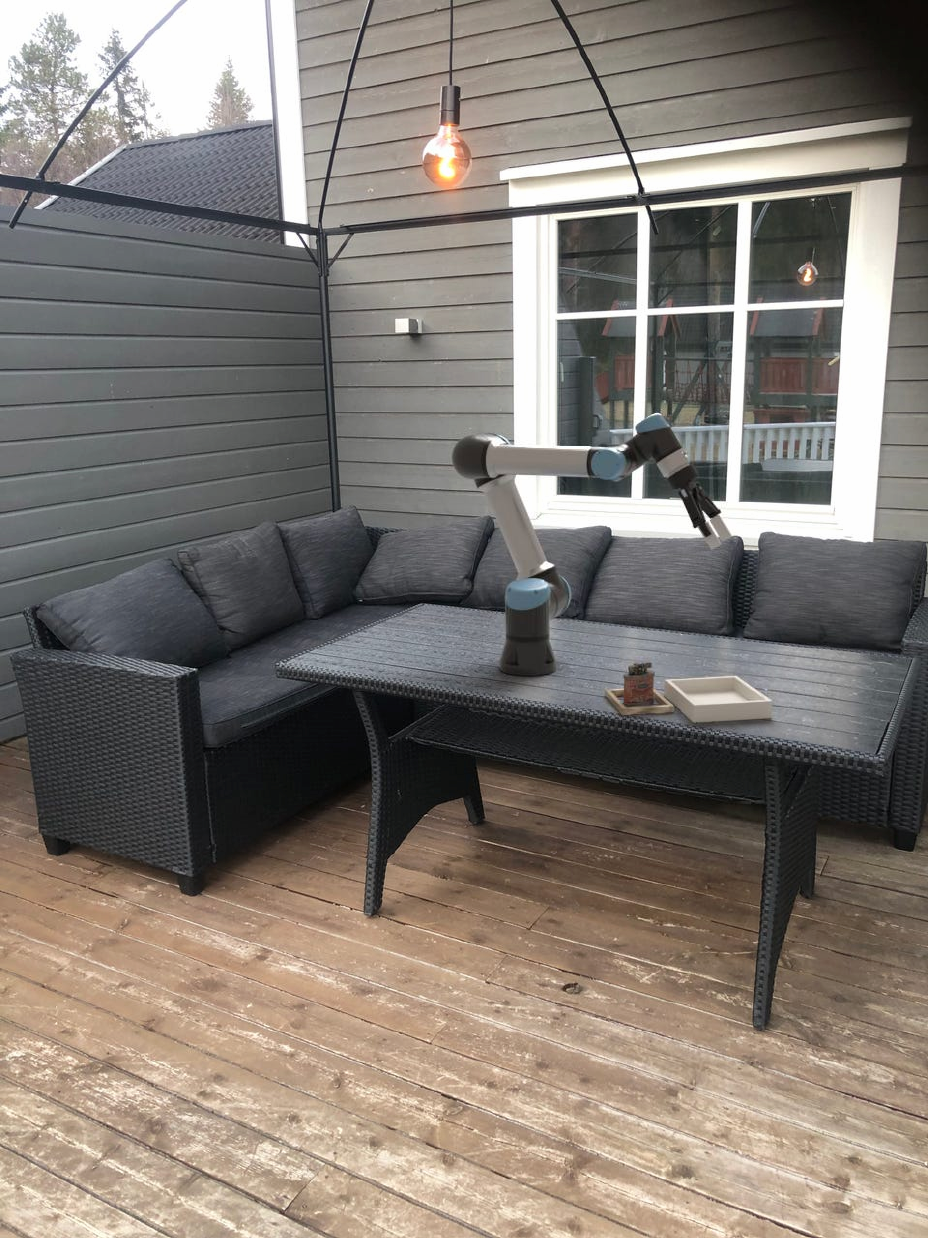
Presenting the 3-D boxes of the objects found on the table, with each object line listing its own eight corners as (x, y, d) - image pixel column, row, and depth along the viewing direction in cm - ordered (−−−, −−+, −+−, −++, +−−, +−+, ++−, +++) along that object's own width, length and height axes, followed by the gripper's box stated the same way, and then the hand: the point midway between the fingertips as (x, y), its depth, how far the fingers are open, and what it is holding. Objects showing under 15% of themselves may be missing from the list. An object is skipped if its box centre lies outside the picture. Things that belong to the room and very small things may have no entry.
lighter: (627, 708, 224) (628, 667, 222) (619, 704, 227) (620, 663, 225) (656, 703, 227) (658, 662, 225) (648, 699, 230) (649, 659, 228)
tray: (693, 722, 214) (694, 705, 213) (664, 695, 233) (664, 679, 232) (771, 718, 216) (772, 701, 215) (735, 691, 235) (736, 675, 234)
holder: (622, 715, 219) (622, 709, 219) (605, 695, 234) (605, 689, 234) (673, 712, 221) (673, 706, 220) (653, 692, 235) (653, 687, 235)
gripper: (679, 466, 230) (725, 543, 230) (701, 458, 252) (744, 528, 251) (652, 483, 234) (698, 558, 233) (677, 474, 256) (718, 542, 255)
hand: (722, 543), depth 242 cm, fingers open, 13 cm apart
